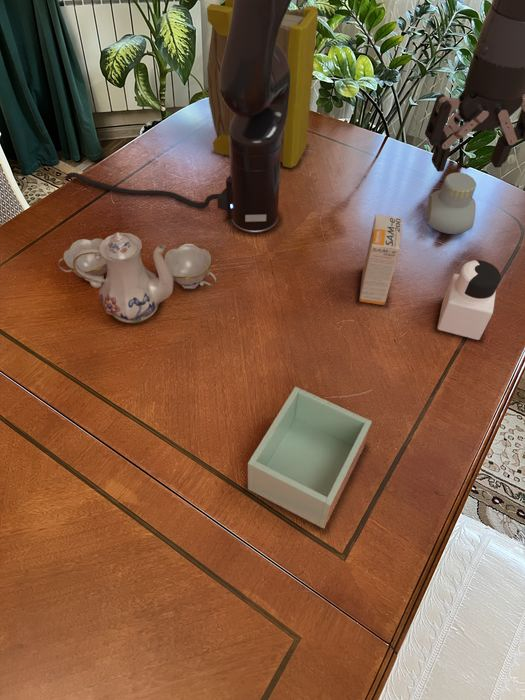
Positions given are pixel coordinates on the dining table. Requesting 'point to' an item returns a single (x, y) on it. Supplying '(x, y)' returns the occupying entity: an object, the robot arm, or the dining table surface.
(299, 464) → the holder
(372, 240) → the supplement box
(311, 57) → the decorative book
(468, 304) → the bust figurine
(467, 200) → the air freshener
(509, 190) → the dining table surface
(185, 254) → the chinaware
